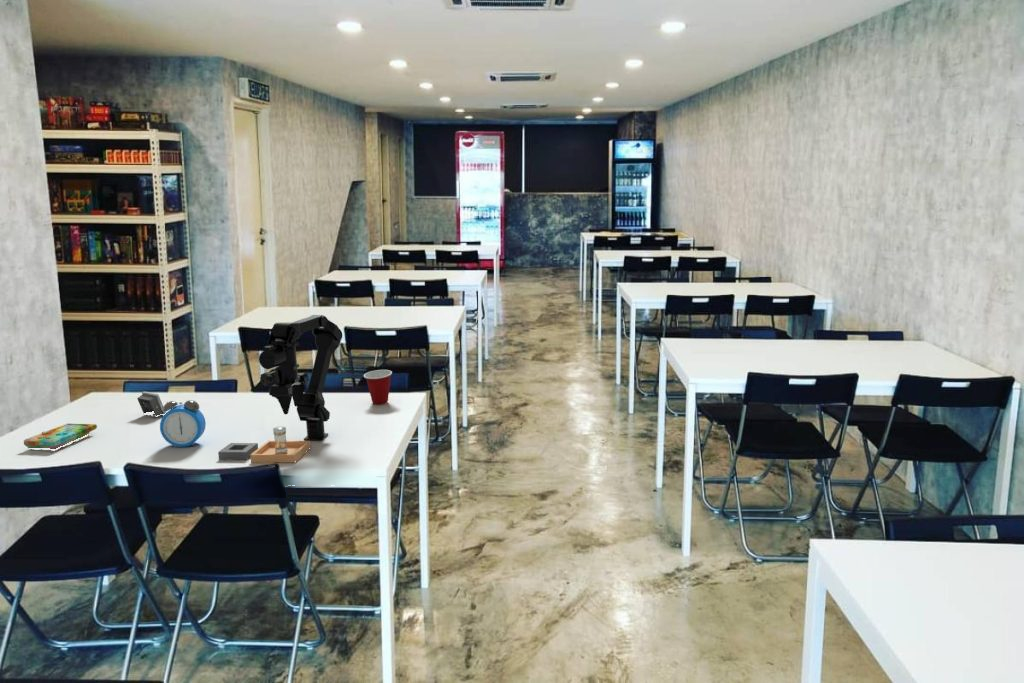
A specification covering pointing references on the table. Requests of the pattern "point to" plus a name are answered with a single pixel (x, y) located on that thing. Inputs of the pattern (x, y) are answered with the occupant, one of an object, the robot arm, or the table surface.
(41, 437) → the puzzle game
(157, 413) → the electrical switch
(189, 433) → the alarm clock
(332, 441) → the table surface
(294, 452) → the tray
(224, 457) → the block
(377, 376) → the plastic cup
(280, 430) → the cylinder
